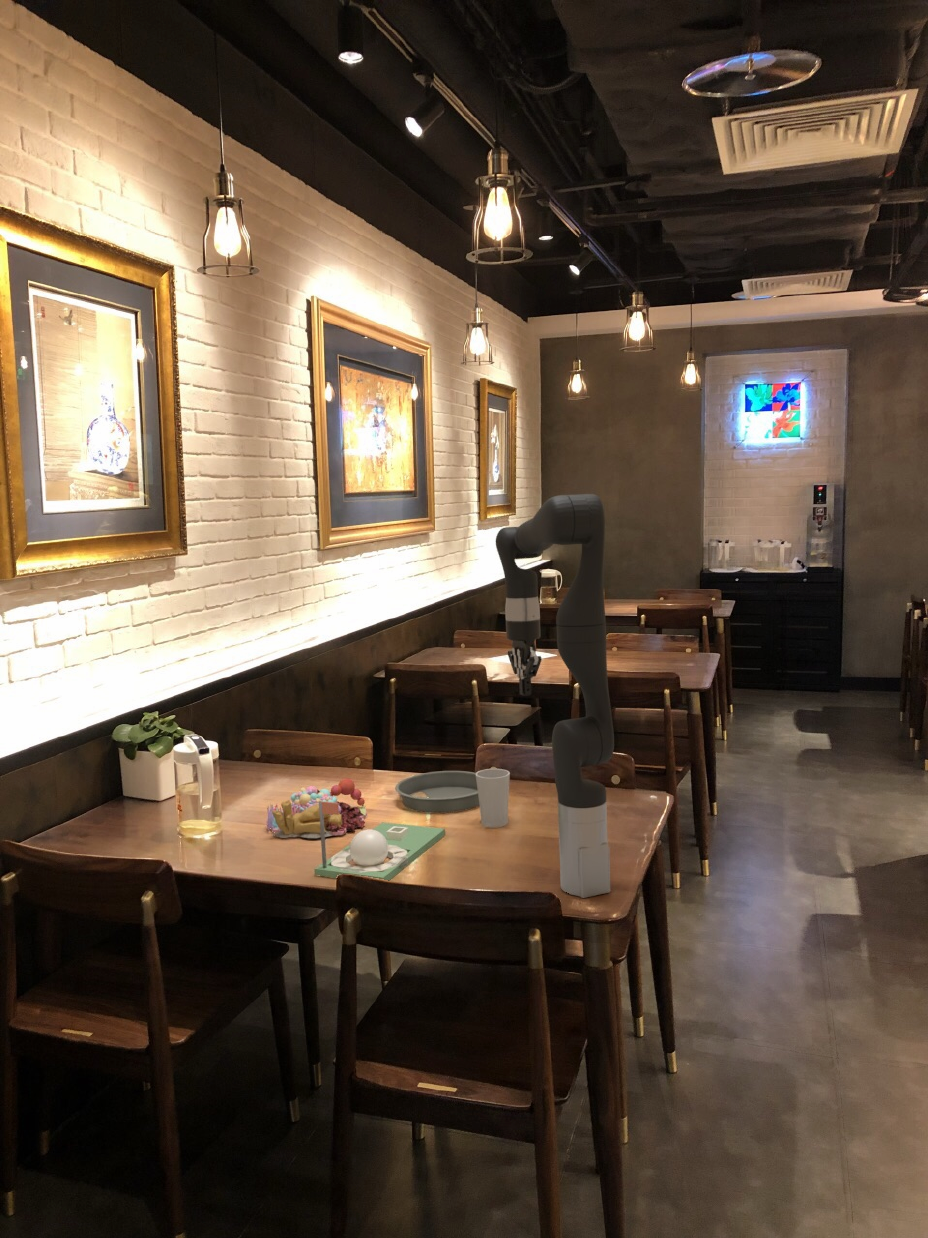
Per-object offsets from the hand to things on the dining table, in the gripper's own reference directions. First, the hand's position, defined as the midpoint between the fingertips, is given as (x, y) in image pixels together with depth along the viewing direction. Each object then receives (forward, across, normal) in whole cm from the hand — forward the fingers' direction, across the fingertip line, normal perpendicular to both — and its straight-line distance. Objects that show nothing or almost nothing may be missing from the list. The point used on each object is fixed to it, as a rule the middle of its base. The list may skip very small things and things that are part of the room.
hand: (525, 695), depth 210 cm
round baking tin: (+32, +34, +8) cm, 48 cm away
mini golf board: (+32, +4, +34) cm, 46 cm away
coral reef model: (+33, +32, +41) cm, 61 cm away
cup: (+32, +11, +4) cm, 34 cm away
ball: (+28, -2, +38) cm, 47 cm away
